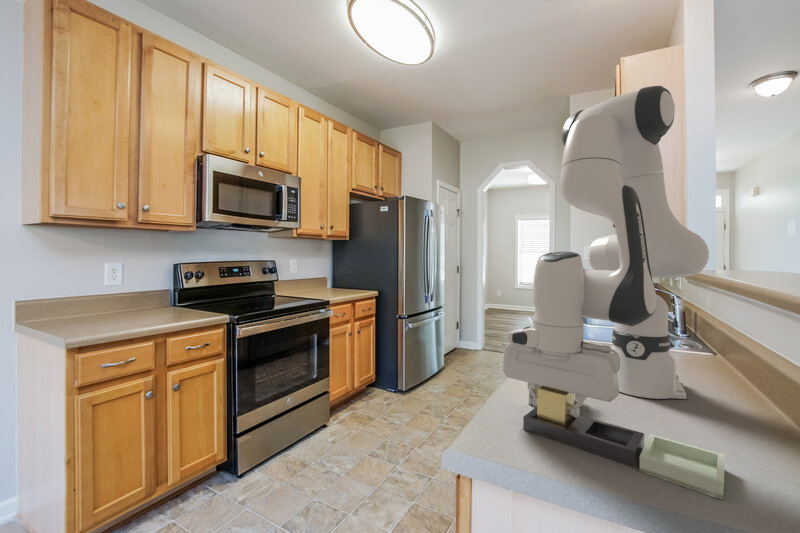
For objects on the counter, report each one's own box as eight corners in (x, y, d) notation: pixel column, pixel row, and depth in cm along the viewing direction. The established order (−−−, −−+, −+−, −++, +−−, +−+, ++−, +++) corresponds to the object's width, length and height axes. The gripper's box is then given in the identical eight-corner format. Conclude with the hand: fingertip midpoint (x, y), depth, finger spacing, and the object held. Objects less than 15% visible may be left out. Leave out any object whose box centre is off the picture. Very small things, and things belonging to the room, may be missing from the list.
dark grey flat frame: (539, 416, 75) (539, 404, 74) (644, 447, 62) (644, 433, 62) (523, 429, 69) (523, 416, 69) (635, 467, 57) (635, 451, 56)
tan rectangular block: (546, 421, 72) (547, 382, 72) (573, 430, 69) (574, 388, 69) (536, 430, 68) (537, 388, 68) (564, 439, 65) (565, 395, 65)
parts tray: (649, 447, 63) (650, 433, 62) (724, 469, 56) (724, 454, 56) (639, 471, 55) (639, 456, 55) (723, 500, 49) (724, 482, 49)
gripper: (624, 344, 63) (622, 422, 64) (513, 328, 77) (512, 392, 78) (616, 351, 59) (614, 435, 59) (499, 332, 73) (498, 401, 73)
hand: (555, 411), depth 68 cm, fingers open, 5 cm apart
